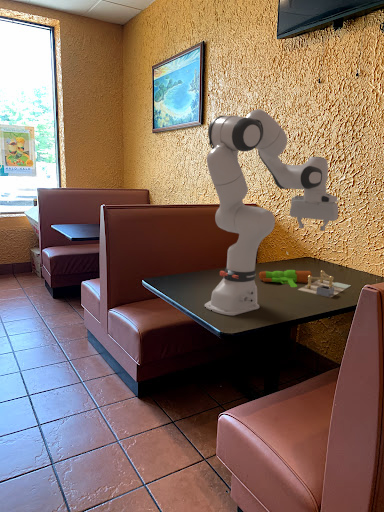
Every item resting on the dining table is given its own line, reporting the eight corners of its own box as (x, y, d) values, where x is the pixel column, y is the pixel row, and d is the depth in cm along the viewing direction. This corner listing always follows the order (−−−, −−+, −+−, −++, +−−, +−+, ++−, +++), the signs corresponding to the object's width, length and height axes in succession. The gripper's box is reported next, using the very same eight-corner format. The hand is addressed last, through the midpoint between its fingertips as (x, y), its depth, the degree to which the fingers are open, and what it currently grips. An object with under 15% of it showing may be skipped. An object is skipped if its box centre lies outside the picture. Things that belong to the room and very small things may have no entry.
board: (329, 300, 159) (330, 297, 159) (296, 292, 168) (297, 289, 168) (350, 288, 177) (350, 286, 177) (319, 281, 187) (319, 279, 187)
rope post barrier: (325, 293, 164) (326, 279, 163) (305, 288, 170) (307, 275, 169) (338, 286, 176) (340, 273, 175) (320, 281, 182) (321, 269, 181)
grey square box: (328, 297, 159) (329, 290, 159) (316, 294, 163) (317, 287, 162) (333, 294, 163) (334, 287, 163) (321, 291, 167) (322, 284, 166)
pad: (345, 289, 172) (345, 288, 172) (330, 285, 176) (330, 285, 176) (350, 286, 177) (350, 285, 177) (336, 282, 182) (336, 282, 182)
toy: (315, 283, 169) (311, 268, 182) (258, 281, 174) (259, 266, 187) (313, 295, 172) (310, 280, 185) (258, 293, 176) (258, 278, 190)
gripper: (288, 195, 163) (286, 227, 166) (335, 198, 150) (332, 232, 153) (294, 194, 168) (292, 225, 171) (341, 197, 155) (337, 231, 158)
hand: (311, 229), depth 162 cm, fingers open, 8 cm apart
